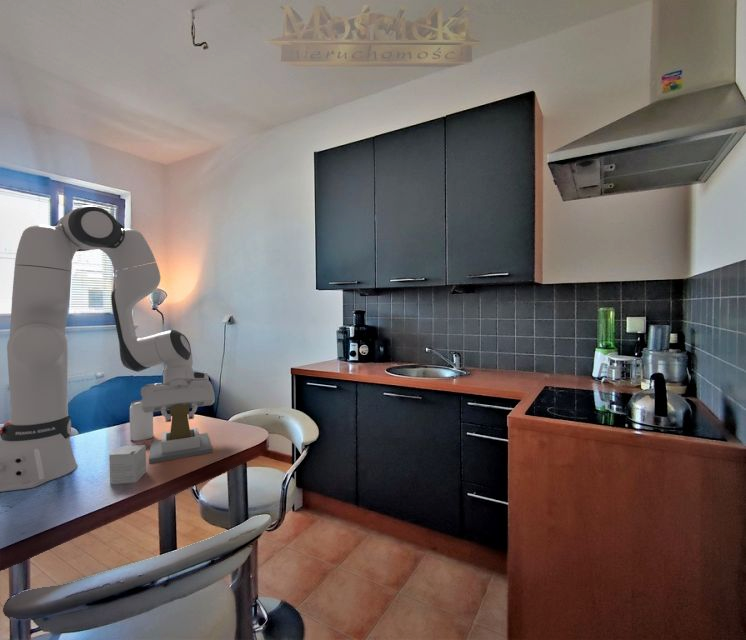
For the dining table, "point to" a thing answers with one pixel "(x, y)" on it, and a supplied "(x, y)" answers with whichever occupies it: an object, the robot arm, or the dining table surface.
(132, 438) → the can
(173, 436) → the brown flared peg
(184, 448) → the grey socket base
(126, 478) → the skincare box
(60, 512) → the dining table surface
